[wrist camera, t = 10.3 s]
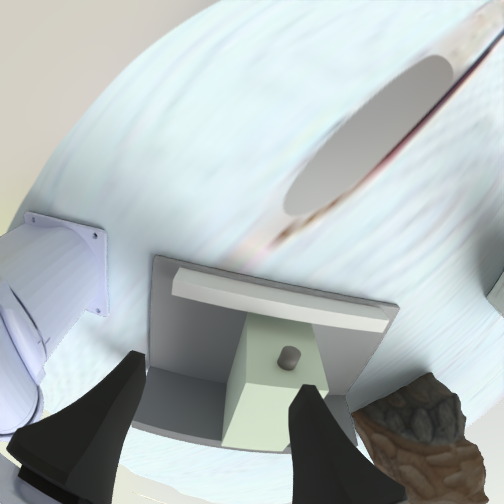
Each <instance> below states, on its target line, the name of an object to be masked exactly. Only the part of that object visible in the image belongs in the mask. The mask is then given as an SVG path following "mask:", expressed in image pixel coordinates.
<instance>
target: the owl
mask: <svg viewBox="0 0 504 504" xmlns="http://www.w3.org/2000/svg"><path fill="white" fill-rule="evenodd" d="M351 415H352V417H353V418H354V420H355V429H356V431H357V433H358V434H359V436H360V438H361V440H362V441H363V443H364V445H365V447H366V449H367V451H368V453H369V455H370V458H371V459H372V461H373V463H374V465H375V466H376V467H377V468H378V469H379V470H380V471H382V472H383V473H384V474H386V475H387V476H389V477H390V478H392V479H393V480H395V481H396V482H398V483H400V484H401V485H403V486H405V489H406V492H407V496H408V499H409V500H408V502H407V503H406V504H486V503H488V501H489V499H488V497H487V496H486V495H485V493H484V484H485V477H486V470H485V466H484V465H483V460H484V459H483V457H482V456H481V452H480V451H479V449H478V447H477V445H476V444H473V443H471V442H469V441H468V440H466V439H465V436H464V430H465V423H466V417H465V416H464V415H463V413H462V411H461V402H460V400H459V397H458V396H457V394H455V393H452V392H451V391H450V390H449V389H448V388H447V387H446V386H445V385H444V384H442V383H441V382H439V381H438V380H437V379H435V377H434V375H433V373H432V372H431V373H427V374H425V375H423V376H421V377H420V378H418V379H416V380H415V381H414V382H412V383H411V384H409V385H408V386H404V387H402V388H400V389H399V390H398V391H396V392H394V393H392V394H390V395H388V396H387V397H385V398H382V399H379V400H377V401H375V402H373V403H371V404H369V405H368V406H366V407H364V408H362V409H360V410H358V411H356V412H353V413H352V414H351Z"/></svg>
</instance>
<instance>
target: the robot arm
mask: <svg viewBox="0 0 504 504" xmlns="http://www.w3.org/2000/svg"><path fill="white" fill-rule="evenodd" d="M94 233H96V234H97V237H96V236H95V235H94ZM99 309H100V310H99ZM85 310H87V311H89V312H92V313H95V314H98V315H101V316H104V317H106V316H107V315H108V314H109V299H108V276H107V233H106V232H105V231H104V230H102V229H98V228H94V227H90V226H86V225H82V224H78V223H73V222H69V221H65V220H61V219H57V218H53V217H49V216H45V215H41V214H37V213H33V212H29V211H28V212H26V213H25V214H24V224H22V225H20V226H18V227H17V228H15V229H13V230H11V231H9V232H8V233H6V234H4V235H2V236H1V237H0V441H5V442H9V444H8V446H7V448H6V449H7V451H8V452H9V453H10V454H11V455H12V456H13V457H14V458H15V459H16V460H17V461H19V462H20V463H21V464H22V466H21V468H19V467H18V466H16V465H15V464H14V463H12V462H11V461H10V460H8V459H7V458H6V457H4V456H3V455H2V454H1V453H0V503H1V504H111V503H112V495H113V488H114V482H115V477H116V472H117V467H118V463H119V458H120V454H121V450H122V447H123V443H124V440H125V437H126V434H127V432H128V429H129V427H130V425H131V422H132V420H133V417H134V415H135V413H136V410H137V408H138V405H139V403H140V401H141V398H142V394H143V391H144V387H145V384H146V369H145V354H143V353H139V352H136V351H133V350H132V351H130V352H129V353H128V355H127V356H126V357H125V358H124V359H123V360H122V361H121V362H120V363H119V364H118V365H117V366H116V367H115V368H114V369H113V370H112V371H111V372H110V373H109V374H108V375H107V376H106V377H105V378H104V379H103V380H102V381H101V382H99V383H98V384H97V385H96V386H95V387H94V388H92V389H91V390H90V391H89V392H87V393H86V394H85V395H84V396H82V397H81V398H79V399H78V400H77V401H75V402H74V403H72V404H71V405H69V406H67V407H66V408H64V409H62V410H61V411H59V412H57V413H55V414H53V415H51V416H49V417H47V418H44V419H42V420H40V419H41V417H42V413H43V409H44V398H43V394H42V390H41V388H40V386H39V385H40V383H41V381H42V380H43V378H44V377H45V375H46V373H45V370H44V364H45V362H46V361H47V360H48V358H49V357H50V356H51V354H52V353H53V351H54V350H55V349H56V347H57V346H58V345H59V343H60V342H61V341H62V339H63V338H64V337H65V335H66V334H67V333H68V332H69V330H70V329H71V328H72V326H73V325H74V324H75V323H76V321H77V320H78V319H79V318H80V316H81V315H82V314H83V313H84V311H85ZM288 429H289V437H290V445H291V453H292V461H293V500H292V504H406V503H407V502H408V500H409V499H408V496H407V492H406V489H405V486H403V485H401V484H400V483H398V482H396V481H395V480H393V479H392V478H390V477H389V476H387V475H386V474H384V473H383V472H382V471H380V470H379V469H378V468H377V467H376V466H375V465H373V464H372V463H371V462H370V461H369V460H368V459H367V458H366V457H365V456H364V455H363V454H362V453H361V452H360V451H359V450H358V449H357V448H356V447H355V445H354V444H353V443H352V442H351V441H350V439H349V438H348V437H347V435H346V434H345V433H344V431H343V430H342V428H341V427H340V426H339V424H338V422H337V421H336V419H335V418H334V416H333V415H332V413H331V411H330V410H329V408H328V406H327V405H326V403H325V401H324V400H323V398H322V396H321V394H320V393H319V391H318V389H317V387H316V386H315V385H309V384H303V385H302V386H301V388H300V390H299V391H298V393H297V395H296V396H295V398H294V400H293V401H292V403H291V404H290V406H289V408H288Z"/></svg>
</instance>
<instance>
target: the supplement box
mask: <svg viewBox="0 0 504 504" xmlns="http://www.w3.org/2000/svg"><path fill="white" fill-rule="evenodd" d="M486 299H487V300H488V301H489V302H490V303H491V304H492V305H493V307H494V308H495V309H496V310H497V311H498V312H499V313H500V315H501V316H502V317H503V318H504V272H503V273H502V275H501V276H500V278H499V280H498V281H497V283H496V284H495V286H494V287H493V289H492V290H491V292H490V293H489V294H488V296H487V298H486Z"/></svg>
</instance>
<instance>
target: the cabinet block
mask: <svg viewBox="0 0 504 504" xmlns="http://www.w3.org/2000/svg"><path fill="white" fill-rule="evenodd" d="M303 384H309V385H315V386H316V387H317V389H318V391H319V393H320V394H321V396H322V398H323V399H324V398H325V396H326V395H327V393H328V392H329V388H328V384H327V380H326V376H325V372H324V368H323V365H322V361H321V357H320V353H319V350H318V346H317V342H316V338H315V335H314V331H313V328H312V324H311V323H307V322H301V321H295V320H289V319H284V318H278V317H273V316H267V315H262V314H257V313H252V312H248V313H247V316H246V320H245V323H244V327H243V330H242V334H241V337H240V341H239V344H238V347H237V351H236V354H235V358H234V361H233V365H232V368H231V372H230V375H229V378H228V382H227V388H226V399H225V409H224V420H223V431H222V442H221V446H225V447H233V448H241V449H251V450H263V451H283V450H284V449H285V448H286V447H287V445H288V444H289V443H290V437H289V429H288V408H289V406H290V404H291V403H292V401H293V400H294V398H295V396H296V395H297V393H298V391H299V390H300V388H301V386H302V385H303Z"/></svg>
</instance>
